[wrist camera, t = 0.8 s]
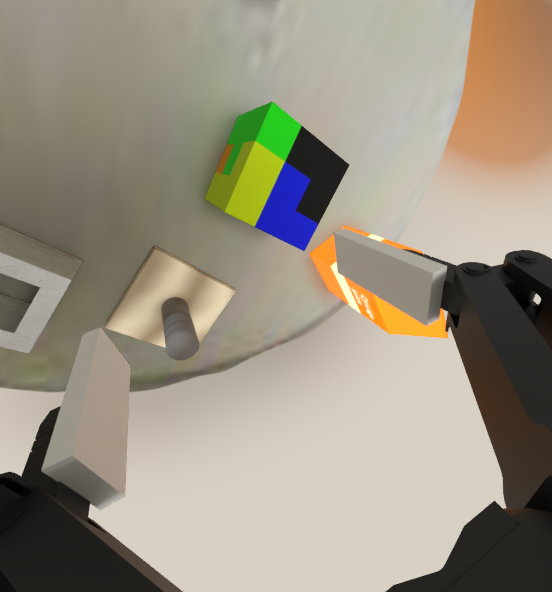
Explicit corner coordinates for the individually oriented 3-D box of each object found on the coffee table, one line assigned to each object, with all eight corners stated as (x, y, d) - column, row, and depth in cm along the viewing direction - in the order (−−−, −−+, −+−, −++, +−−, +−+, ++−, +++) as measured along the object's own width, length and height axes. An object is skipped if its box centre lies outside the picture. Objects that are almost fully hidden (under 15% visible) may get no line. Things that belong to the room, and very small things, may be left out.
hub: (-63, 290, 27) (-108, 320, 22) (-23, 214, 25) (-63, 227, 21) (46, 323, 32) (28, 353, 27) (83, 260, 31) (71, 280, 26)
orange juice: (328, 291, 48) (424, 360, 32) (308, 254, 43) (410, 313, 26) (362, 264, 48) (473, 318, 32) (346, 224, 43) (468, 265, 27)
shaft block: (106, 323, 35) (94, 375, 26) (154, 246, 33) (158, 276, 25) (189, 351, 41) (201, 400, 33) (233, 288, 40) (256, 323, 31)
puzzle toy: (270, 231, 38) (304, 251, 30) (204, 198, 33) (224, 212, 25) (303, 163, 36) (349, 165, 28) (238, 116, 31) (272, 101, 23)
